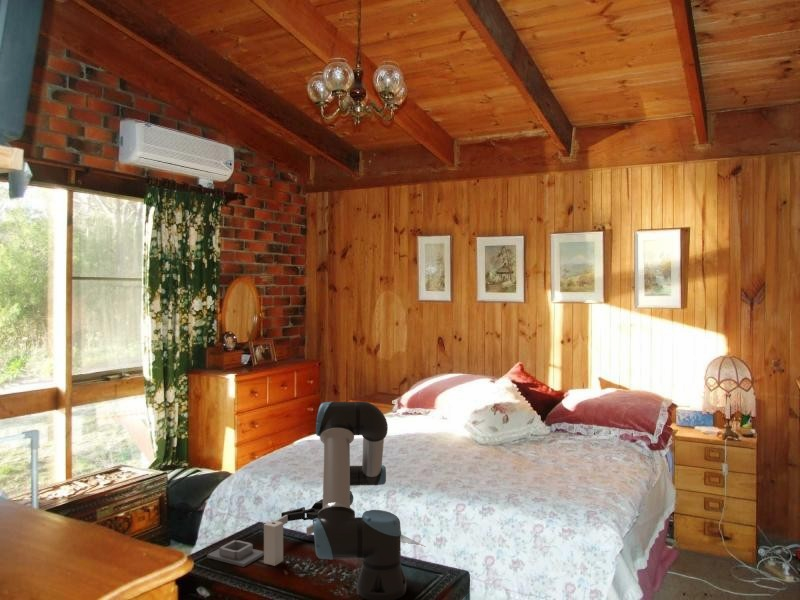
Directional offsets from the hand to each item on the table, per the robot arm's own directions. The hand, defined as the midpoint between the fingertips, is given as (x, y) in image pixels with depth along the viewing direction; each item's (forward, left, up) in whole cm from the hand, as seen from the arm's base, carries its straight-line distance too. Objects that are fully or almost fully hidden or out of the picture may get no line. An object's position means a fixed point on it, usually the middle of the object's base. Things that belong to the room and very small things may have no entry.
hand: (291, 528), depth 223 cm
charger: (-4, +9, -8) cm, 13 cm away
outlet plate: (+8, +17, -8) cm, 20 cm away
